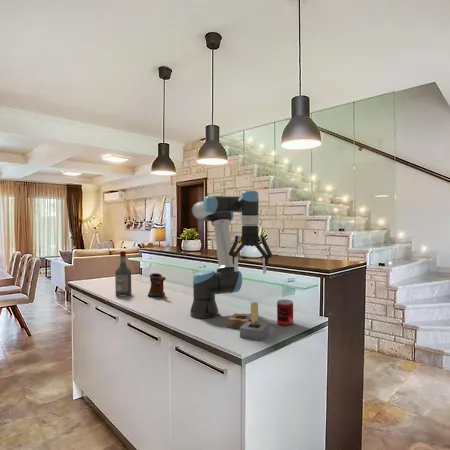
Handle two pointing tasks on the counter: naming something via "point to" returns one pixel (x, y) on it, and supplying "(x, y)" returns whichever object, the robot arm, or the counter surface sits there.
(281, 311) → the canned food
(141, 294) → the counter surface
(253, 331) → the socket block
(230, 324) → the block
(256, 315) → the lock pin
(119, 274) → the liquor
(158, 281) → the mug
